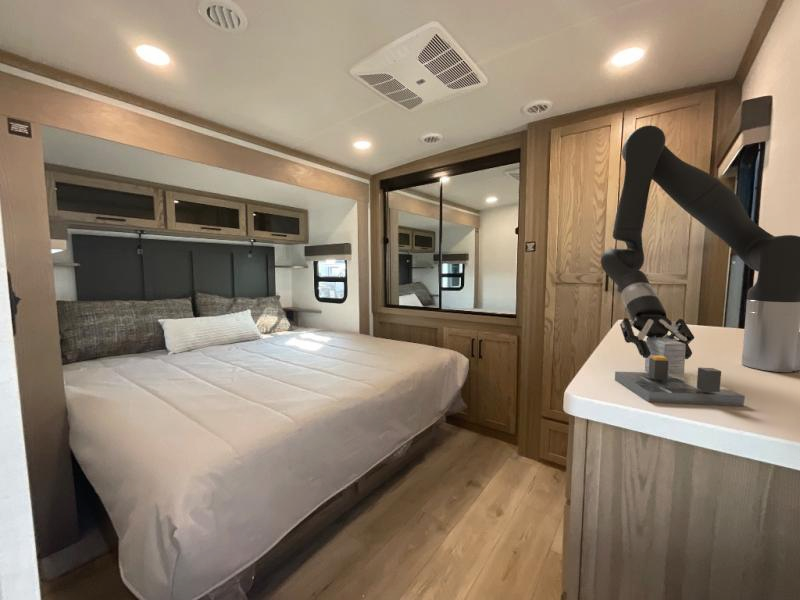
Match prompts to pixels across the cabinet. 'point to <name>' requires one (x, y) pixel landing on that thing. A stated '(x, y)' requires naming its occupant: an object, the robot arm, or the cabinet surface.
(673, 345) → the light grey block
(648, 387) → the board
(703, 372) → the block
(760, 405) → the cabinet surface
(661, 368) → the block
